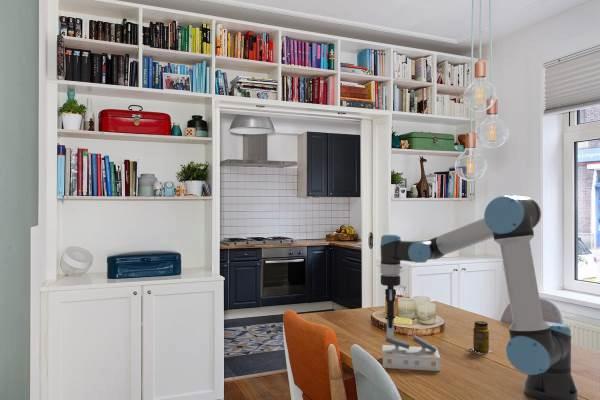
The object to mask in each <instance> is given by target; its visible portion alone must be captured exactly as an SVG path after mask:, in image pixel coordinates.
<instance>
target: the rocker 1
mask: <svg viewBox="0 0 600 400" xmlns="http://www.w3.org/2000/svg"><path fill="white" fill-rule="evenodd" d="M384 340H385V341H384V342H385V343H388V344H392V345H393V346H395V345H397V346H401V347H404V348H407V349H409V346H410V341H406V340H403V339H400V338H396V337H394V336H387V334H386V336H385V339H384Z"/></svg>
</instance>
